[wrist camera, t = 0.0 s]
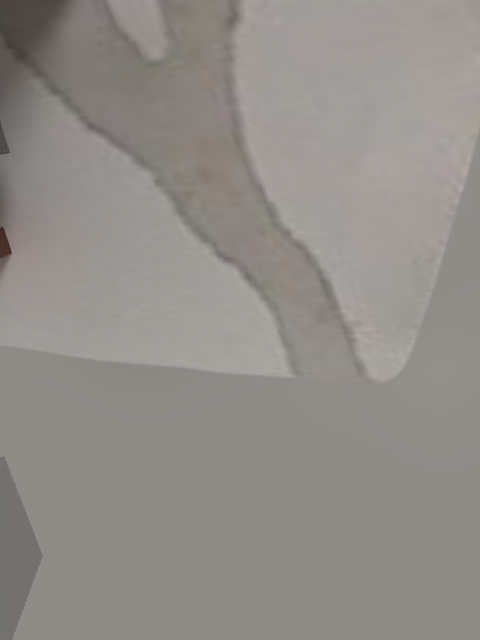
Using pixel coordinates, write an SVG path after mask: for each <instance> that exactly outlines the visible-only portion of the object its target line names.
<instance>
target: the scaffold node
mask: <svg viewBox="0 0 480 640" xmlns="http://www.w3.org/2000/svg"><path fill="white" fill-rule="evenodd" d="M7 153H10V151H9V148H8V145H7V142H6V138H5V135H4V132H3V129H2V125H1V122H0V155H1V154H7ZM11 253H12V252H11V249H10V246H9V243H8V240H7V237H6V234H5V231H4V228H3V227H1V228H0V258H2V257H4V256H6V255H9V254H11Z"/></svg>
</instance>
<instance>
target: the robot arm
mask: <svg viewBox="0 0 480 640" xmlns="http://www.w3.org/2000/svg"><path fill="white" fill-rule="evenodd" d="M42 556H43V555H42V552H41V550H40V547H39V545H38V542H37V539H36V537H35V534H34V532H33V529H32V526H31V524H30V521H29V519H28V516H27V513H26V511H25V508H24V506H23V503H22V501H21V498H20V495H19V493H18V490H17V488H16V485H15V482H14V480H13V477H12V475H11V472H10V470H9V467H8V464H7V462H6V459H5V457H0V640H12V639H13V636H14V633H15V630H16V628H17V625H18V622H19V619H20V617H21V614H22V611H23V608H24V606H25V602H26V600H27V597H28V595H29V592H30V589H31V586H32V583H33V581H34V578H35V575H36V573H37V570H38V567H39V565H40V562H41V559H42Z"/></svg>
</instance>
